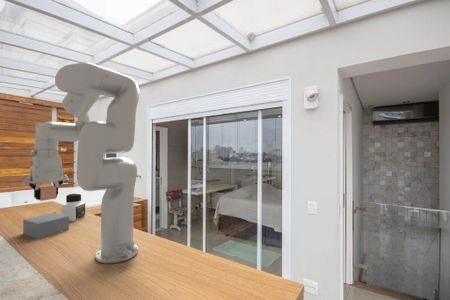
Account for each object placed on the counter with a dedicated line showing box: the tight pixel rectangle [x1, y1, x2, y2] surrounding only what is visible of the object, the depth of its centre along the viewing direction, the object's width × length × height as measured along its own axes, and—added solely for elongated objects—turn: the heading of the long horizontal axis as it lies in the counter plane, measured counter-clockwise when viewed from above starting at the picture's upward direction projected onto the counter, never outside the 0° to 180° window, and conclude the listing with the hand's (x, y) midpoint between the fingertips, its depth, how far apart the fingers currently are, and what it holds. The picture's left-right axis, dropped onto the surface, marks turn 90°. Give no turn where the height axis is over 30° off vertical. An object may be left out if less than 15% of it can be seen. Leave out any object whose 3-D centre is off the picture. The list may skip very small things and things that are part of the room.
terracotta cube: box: [39, 184, 57, 202], centre depth 94 cm, size 5×5×5 cm
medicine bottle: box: [60, 193, 86, 222], centre depth 111 cm, size 7×7×12 cm
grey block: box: [22, 212, 70, 240], centre depth 94 cm, size 11×11×6 cm
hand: (46, 197), depth 94 cm, fingers closed on terracotta cube, 4 cm apart
